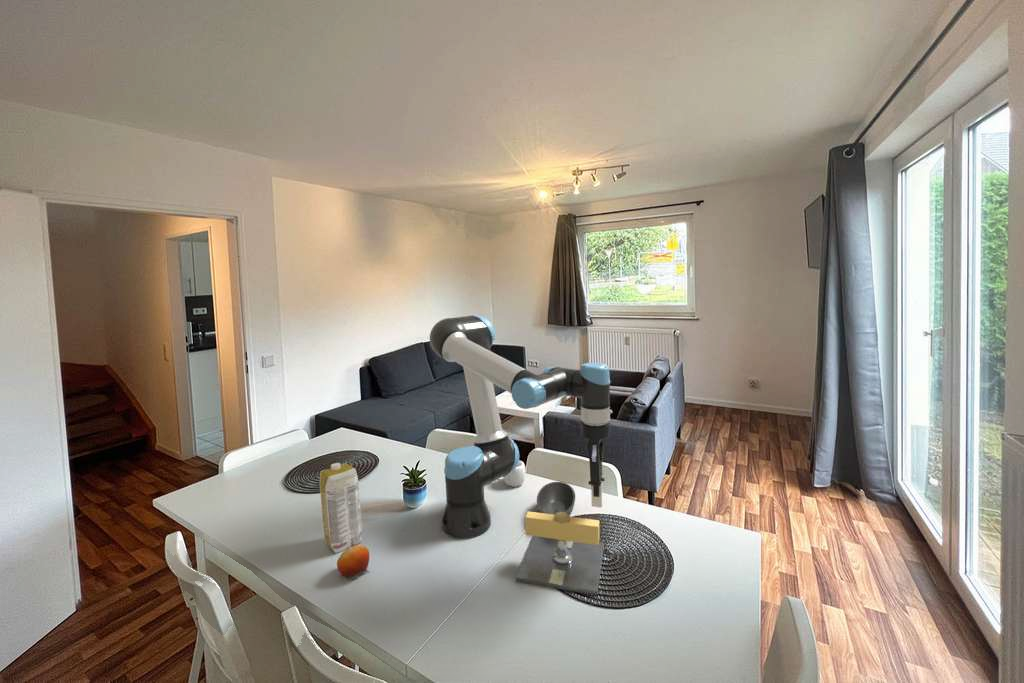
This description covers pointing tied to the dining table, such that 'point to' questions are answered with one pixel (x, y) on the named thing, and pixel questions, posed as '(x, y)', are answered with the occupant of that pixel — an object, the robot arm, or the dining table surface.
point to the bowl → (556, 498)
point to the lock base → (562, 565)
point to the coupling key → (562, 527)
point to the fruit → (353, 561)
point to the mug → (515, 476)
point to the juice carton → (340, 506)
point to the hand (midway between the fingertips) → (596, 505)
